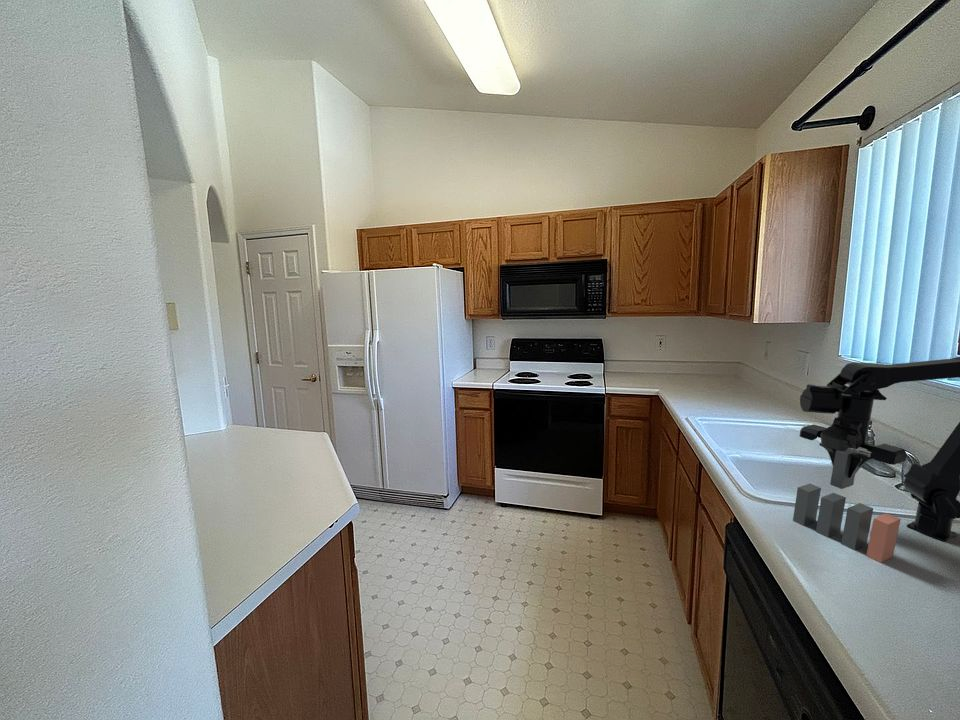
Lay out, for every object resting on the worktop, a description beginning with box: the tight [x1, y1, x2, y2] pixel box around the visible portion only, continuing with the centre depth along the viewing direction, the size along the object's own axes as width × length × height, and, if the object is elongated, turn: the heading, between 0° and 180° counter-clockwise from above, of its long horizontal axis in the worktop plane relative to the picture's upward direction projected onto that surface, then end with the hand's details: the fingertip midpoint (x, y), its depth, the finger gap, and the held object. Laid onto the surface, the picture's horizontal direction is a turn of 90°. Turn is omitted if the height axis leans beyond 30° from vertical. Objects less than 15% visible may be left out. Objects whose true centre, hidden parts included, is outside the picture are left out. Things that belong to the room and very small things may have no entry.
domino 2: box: [829, 448, 857, 490], centre depth 98 cm, size 2×5×9 cm, turn 113°
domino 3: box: [815, 492, 847, 538], centre depth 94 cm, size 2×5×9 cm, turn 113°
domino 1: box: [792, 483, 822, 526], centre depth 98 cm, size 2×5×9 cm, turn 113°
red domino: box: [866, 513, 902, 564], centre depth 85 cm, size 2×5×9 cm, turn 113°
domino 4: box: [840, 502, 874, 551], centre depth 89 cm, size 2×5×9 cm, turn 113°
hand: (843, 475), depth 98 cm, fingers closed on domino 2, 2 cm apart
